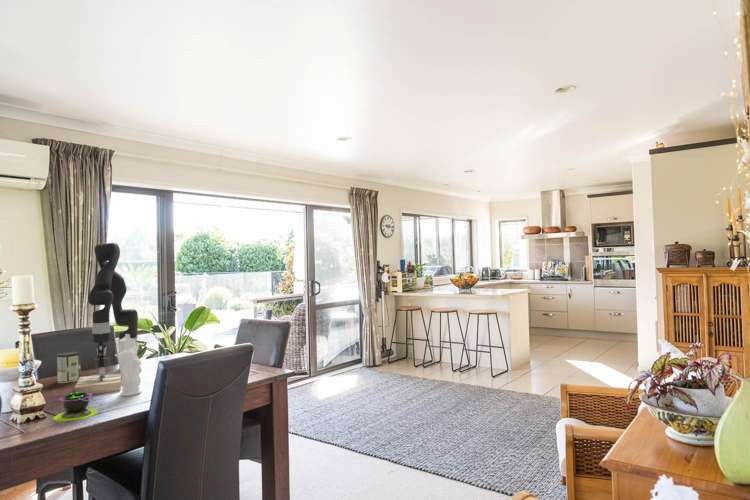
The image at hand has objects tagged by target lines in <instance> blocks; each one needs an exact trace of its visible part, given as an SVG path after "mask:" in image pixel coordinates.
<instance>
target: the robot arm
mask: <svg viewBox="0 0 750 500" xmlns="http://www.w3.org/2000/svg"><path fill="white" fill-rule="evenodd" d="M120 249H121V248H120V246H119V244H118V243H116V242H107V243H98V244H96V245H95V246H94V254H95V255H94V256H95V258H96V261H97V264H98V266H99V268H100V270H99V271H98V272H97V274H96V278H95V283H94V285H93V287H92V289H91V290H90V291H89V293H88V296H87V302H88V303H89V305H90V306H103V308H101V309H98V310H94V311H92V312H93V313H92V331H91V332H92V335H91V336H92V339H91V340H92V343H93V344H95V343H96V344H97V346H96V354H97V359H98V360H99V368H100V367H104V358H106V353H107V344H106V343H107V342H110V341H111V325H110V323H111V321H110V311H111V307H112V312H113V318H114V321H115V323H116V325H117V326H120V327H127V326H128V327H127V329H126V330H124V331H122V332H119V333H118V354H119V353H120V340H121V339H122V338H124V337H125V334H129V335H130V338H132V339H135V340H136V345H137V343H138V330H139V329H138V323H139V321H138V320H139V314H138V312H137V310H136V309H134V308H133V309H132V308H131V309H130V308H129V309H123V307H122V302H123V300H124V298H125V296H126V293H127V286H126V285H127V284H126V281H125V278H124V277H123V276H122V275H121V273H119V272H118V271H116V270H115V269H116V267H117V265H118V262H119V260H120V256H121V250H120ZM136 356H137V357H138V352H137V353H136ZM118 364H119V365H118V366H119V368H118V369H119V370H120V358H119V357H118ZM99 368H98V369H99Z"/></svg>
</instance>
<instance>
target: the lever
mask: <svg viewBox="0 0 750 500" xmlns="http://www.w3.org/2000/svg"><path fill="white" fill-rule="evenodd" d="M106 367H110V357H105V358H104V367H100V368H99V360H98V358H95V359H94V368H95V369H97V368H98V371H99V372H98V373H99V374H98V375H99V378H100V380H102V379H103V378H104V377H105V374H106Z"/></svg>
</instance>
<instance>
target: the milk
mask: <svg viewBox="0 0 750 500" xmlns="http://www.w3.org/2000/svg"><path fill="white" fill-rule="evenodd" d="M134 346H136V340H135V339H132V338H130V335H129V334H125V337H124V338H122V339H121V340H120V353H121V352H123V351H124V350H130V349H131V348H132V347H134ZM135 355H136V354H135ZM122 368H123V363H122V361H121V358H120V369H119V372H121V378H122V377H123V375H122Z"/></svg>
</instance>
